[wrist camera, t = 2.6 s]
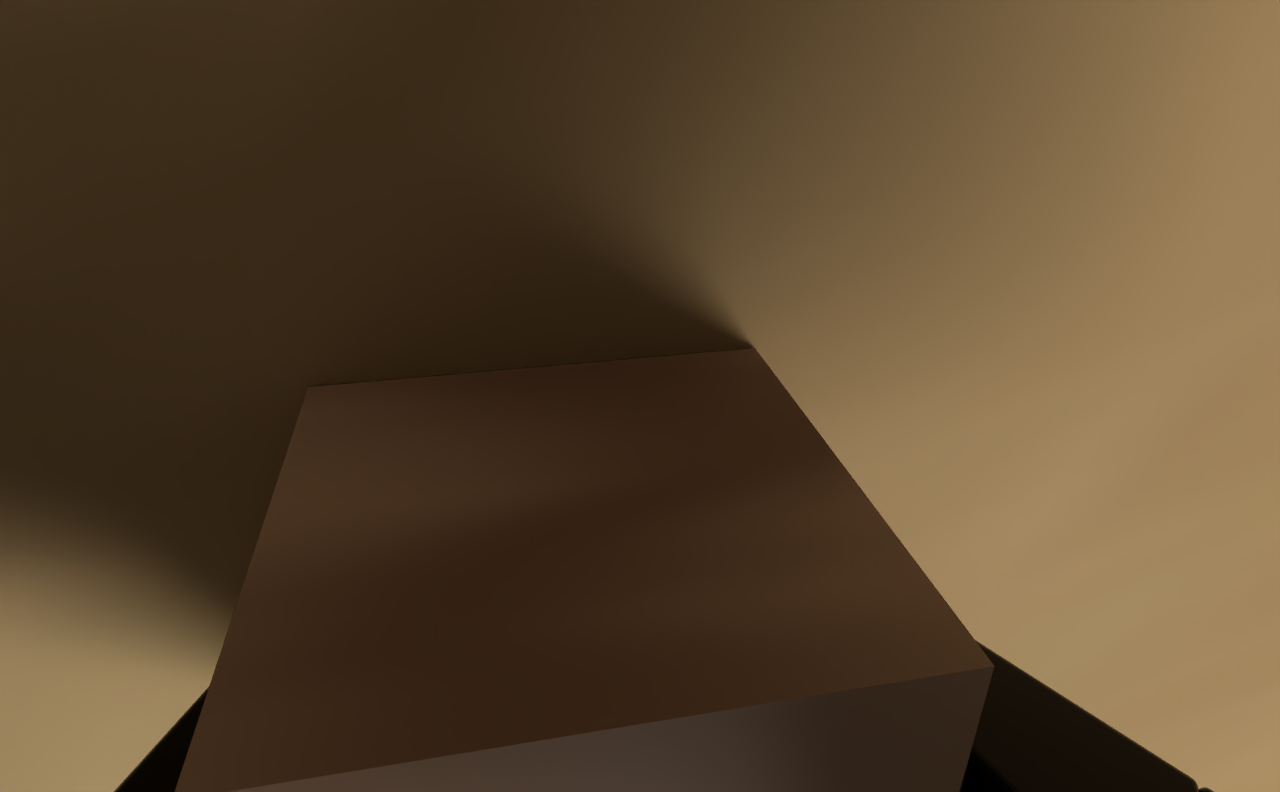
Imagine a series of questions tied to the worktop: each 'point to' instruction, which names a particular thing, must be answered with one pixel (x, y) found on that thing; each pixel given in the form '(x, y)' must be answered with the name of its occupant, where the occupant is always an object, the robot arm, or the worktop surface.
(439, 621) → the walnut block
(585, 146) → the worktop surface
